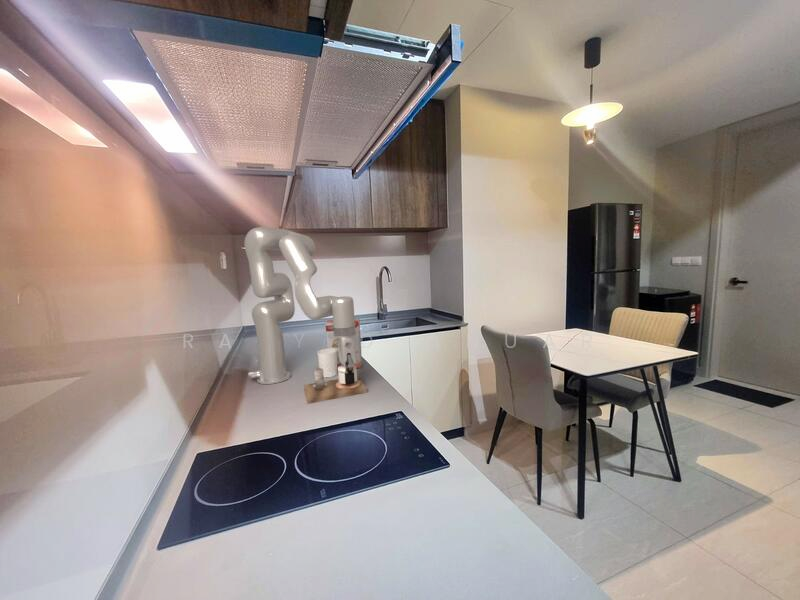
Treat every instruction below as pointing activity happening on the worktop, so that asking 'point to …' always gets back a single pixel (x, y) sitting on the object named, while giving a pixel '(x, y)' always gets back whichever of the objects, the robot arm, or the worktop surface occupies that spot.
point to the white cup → (328, 362)
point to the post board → (331, 388)
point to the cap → (342, 373)
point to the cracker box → (333, 342)
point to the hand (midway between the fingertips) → (347, 379)
